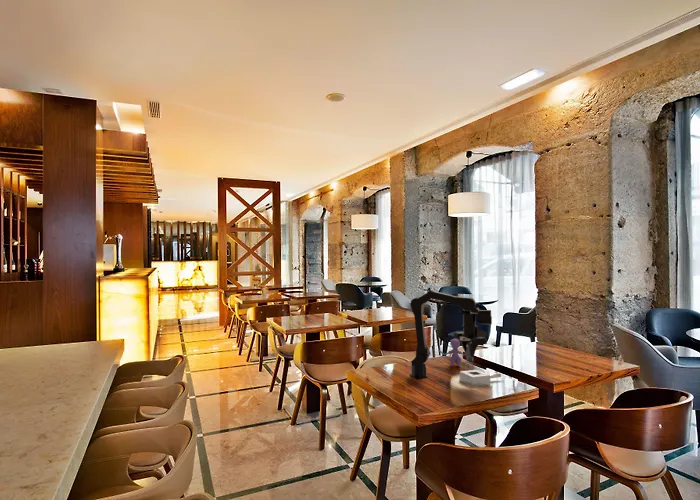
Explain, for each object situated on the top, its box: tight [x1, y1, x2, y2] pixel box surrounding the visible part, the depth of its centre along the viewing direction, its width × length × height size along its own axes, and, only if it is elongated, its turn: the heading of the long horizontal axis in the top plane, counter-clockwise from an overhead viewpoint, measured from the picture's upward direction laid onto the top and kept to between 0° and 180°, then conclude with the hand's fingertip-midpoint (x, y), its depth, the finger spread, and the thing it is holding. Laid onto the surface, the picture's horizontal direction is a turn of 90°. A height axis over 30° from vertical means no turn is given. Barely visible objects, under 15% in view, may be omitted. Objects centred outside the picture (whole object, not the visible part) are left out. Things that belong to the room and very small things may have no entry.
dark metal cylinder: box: [465, 344, 474, 362], centre depth 192 cm, size 3×3×8 cm
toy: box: [438, 338, 466, 367], centre depth 222 cm, size 18×6×15 cm, turn 84°
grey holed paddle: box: [459, 369, 502, 388], centre depth 193 cm, size 20×10×4 cm, turn 110°
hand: (469, 356), depth 191 cm, fingers closed on dark metal cylinder, 3 cm apart
